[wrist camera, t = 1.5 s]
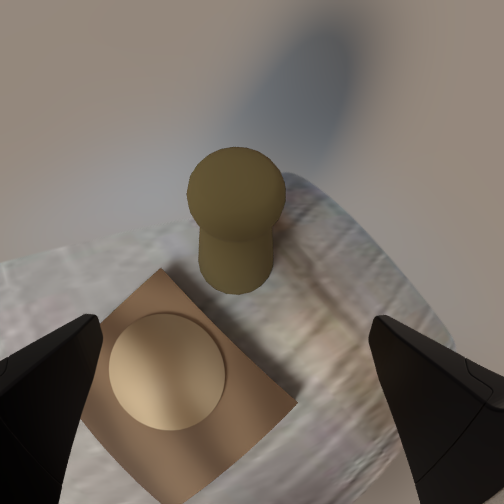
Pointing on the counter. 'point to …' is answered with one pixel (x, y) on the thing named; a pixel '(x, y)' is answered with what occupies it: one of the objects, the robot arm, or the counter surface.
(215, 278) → the pepper shaker
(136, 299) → the plate
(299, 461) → the counter surface
